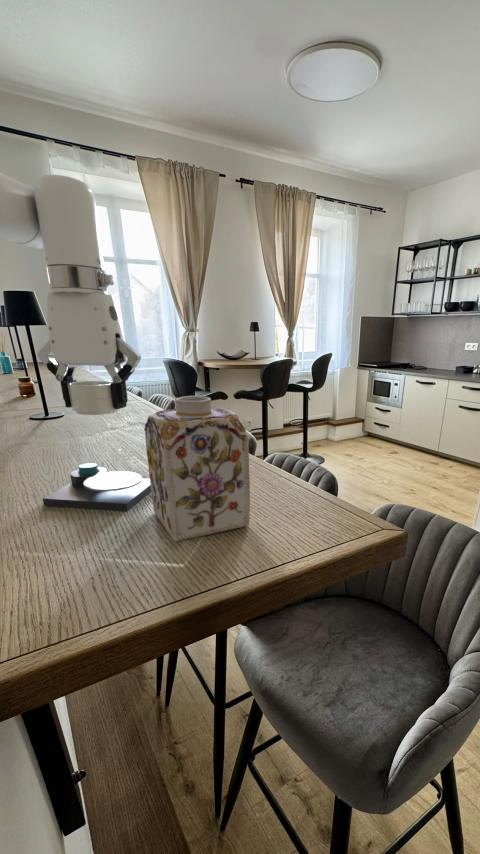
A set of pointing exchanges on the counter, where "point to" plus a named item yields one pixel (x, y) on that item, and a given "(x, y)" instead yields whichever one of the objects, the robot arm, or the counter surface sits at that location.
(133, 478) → the scale pan
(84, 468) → the tare button
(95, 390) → the bowl
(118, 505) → the scale
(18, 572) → the counter surface
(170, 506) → the decorative jar
